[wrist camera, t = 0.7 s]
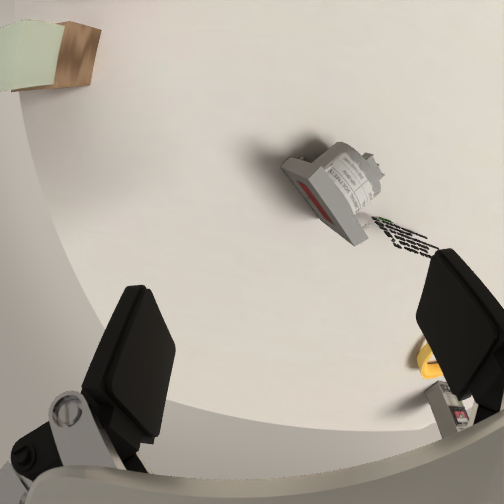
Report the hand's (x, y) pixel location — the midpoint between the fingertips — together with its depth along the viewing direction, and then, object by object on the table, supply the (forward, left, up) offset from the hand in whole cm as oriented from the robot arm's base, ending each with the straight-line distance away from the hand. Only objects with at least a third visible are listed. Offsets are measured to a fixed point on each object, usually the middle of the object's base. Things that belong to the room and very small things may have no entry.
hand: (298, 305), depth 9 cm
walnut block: (-8, -28, -29) cm, 41 cm away
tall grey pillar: (+51, +72, -29) cm, 93 cm away
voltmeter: (+4, +16, -29) cm, 34 cm away
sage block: (-8, -28, -21) cm, 36 cm away
